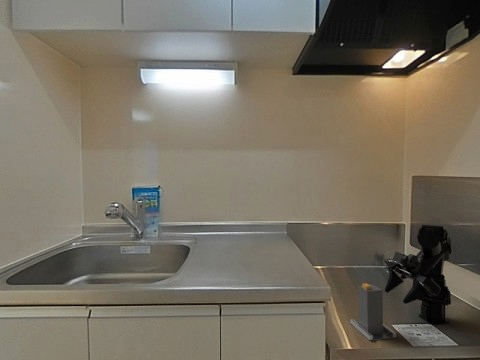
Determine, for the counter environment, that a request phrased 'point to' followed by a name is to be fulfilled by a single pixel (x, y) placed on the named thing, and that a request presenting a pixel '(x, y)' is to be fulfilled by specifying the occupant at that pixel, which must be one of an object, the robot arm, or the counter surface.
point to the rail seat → (371, 337)
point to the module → (371, 308)
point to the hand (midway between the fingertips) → (394, 297)
